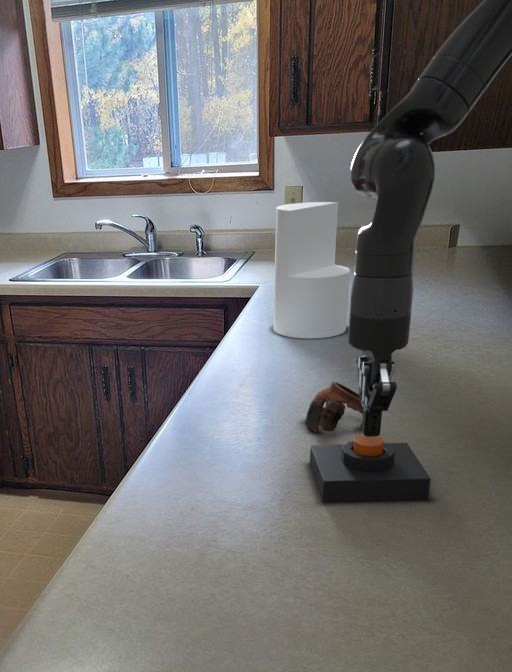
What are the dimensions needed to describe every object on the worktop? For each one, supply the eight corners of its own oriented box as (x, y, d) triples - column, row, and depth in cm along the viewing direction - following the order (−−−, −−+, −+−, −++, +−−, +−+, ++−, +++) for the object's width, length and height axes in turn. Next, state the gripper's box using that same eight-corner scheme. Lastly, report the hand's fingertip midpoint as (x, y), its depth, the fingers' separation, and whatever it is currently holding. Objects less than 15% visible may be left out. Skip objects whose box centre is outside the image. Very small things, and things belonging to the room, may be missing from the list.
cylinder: (258, 330, 180) (260, 208, 167) (303, 316, 190) (308, 200, 177) (315, 342, 168) (322, 212, 155) (360, 327, 178) (370, 203, 165)
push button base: (404, 462, 110) (408, 431, 107) (428, 499, 99) (432, 466, 97) (309, 464, 110) (311, 433, 108) (322, 502, 100) (324, 469, 98)
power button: (379, 445, 104) (380, 434, 104) (386, 457, 101) (387, 445, 100) (350, 446, 105) (351, 435, 104) (356, 458, 101) (357, 446, 100)
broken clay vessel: (303, 416, 129) (329, 375, 126) (351, 445, 127) (377, 404, 125) (294, 425, 118) (321, 380, 115) (345, 456, 116) (375, 411, 113)
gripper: (425, 320, 88) (411, 453, 95) (397, 295, 99) (386, 415, 107) (361, 323, 88) (352, 455, 96) (341, 298, 100) (334, 417, 108)
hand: (370, 434), depth 101 cm, fingers closed
